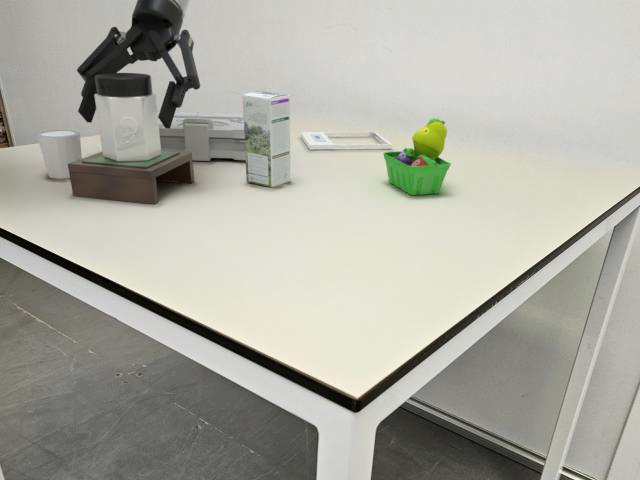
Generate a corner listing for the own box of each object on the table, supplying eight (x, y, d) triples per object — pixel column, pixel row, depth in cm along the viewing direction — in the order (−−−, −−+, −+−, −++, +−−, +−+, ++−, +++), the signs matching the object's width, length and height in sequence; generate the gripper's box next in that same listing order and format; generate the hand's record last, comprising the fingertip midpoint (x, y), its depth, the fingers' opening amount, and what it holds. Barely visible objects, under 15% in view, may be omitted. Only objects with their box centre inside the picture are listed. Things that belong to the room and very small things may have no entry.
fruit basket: (379, 181, 107) (383, 114, 101) (423, 178, 109) (430, 113, 104) (407, 198, 97) (414, 126, 92) (455, 195, 100) (464, 124, 95)
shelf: (73, 195, 94) (67, 162, 92) (121, 175, 106) (116, 144, 104) (154, 204, 91) (150, 170, 89) (194, 181, 103) (192, 151, 101)
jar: (102, 163, 92) (89, 78, 86) (104, 151, 99) (92, 72, 93) (162, 161, 94) (154, 78, 88) (160, 150, 101) (152, 72, 95)
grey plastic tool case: (141, 140, 133) (137, 103, 129) (268, 144, 133) (267, 107, 129) (112, 160, 116) (106, 118, 112) (257, 164, 116) (256, 122, 112)
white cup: (79, 168, 110) (73, 128, 106) (91, 176, 105) (85, 134, 102) (39, 172, 106) (31, 131, 103) (50, 181, 101) (42, 138, 98)
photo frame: (300, 131, 140) (375, 130, 143) (300, 136, 141) (375, 135, 144) (309, 144, 127) (392, 143, 130) (309, 149, 128) (391, 148, 131)
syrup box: (291, 181, 105) (291, 93, 98) (271, 188, 101) (269, 96, 94) (266, 176, 108) (264, 89, 101) (244, 183, 103) (241, 93, 97)
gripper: (239, 30, 99) (207, 140, 93) (104, 25, 105) (66, 129, 99) (224, -8, 92) (189, 109, 86) (81, -11, 98) (38, 99, 92)
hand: (123, 120), depth 93 cm, fingers open, 13 cm apart
